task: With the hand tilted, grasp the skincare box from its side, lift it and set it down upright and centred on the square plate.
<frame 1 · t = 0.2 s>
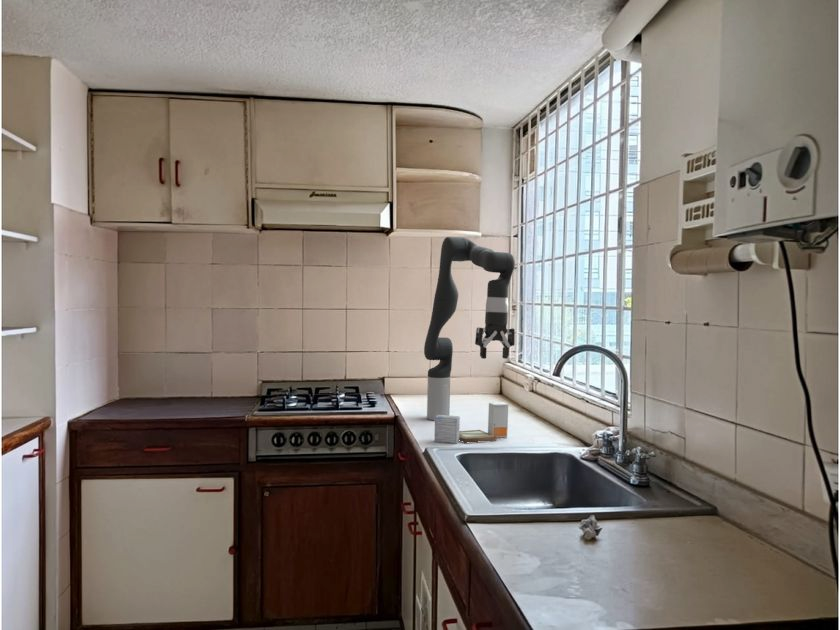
hand: (494, 358, 209), 29 cm above the table, tool pointing down, fingers open, 8 cm apart
medicine box: (446, 442, 210), on the table
skincare box: (497, 437, 219), on the table
plate: (472, 438, 215), on the table
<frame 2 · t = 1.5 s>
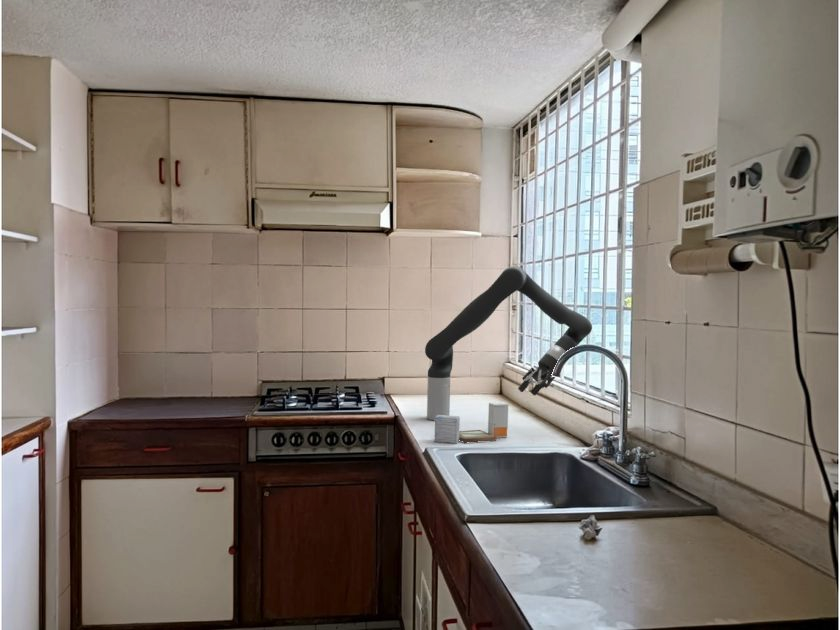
hand: (526, 392, 223), 16 cm above the table, tool tilted 45°, fingers open, 8 cm apart
nothing on the table moved.
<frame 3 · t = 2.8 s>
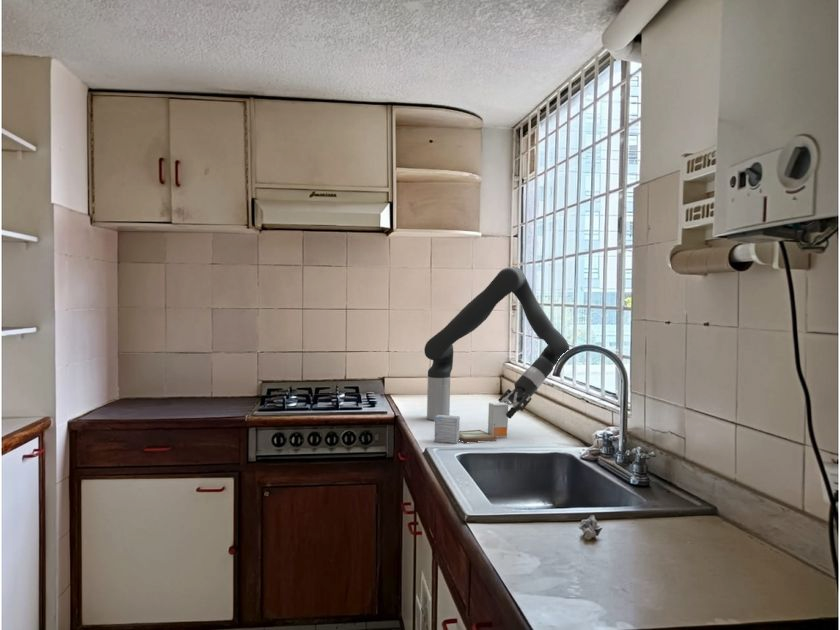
hand: (501, 414, 220), 8 cm above the table, tool tilted 45°, fingers open, 8 cm apart
nothing on the table moved.
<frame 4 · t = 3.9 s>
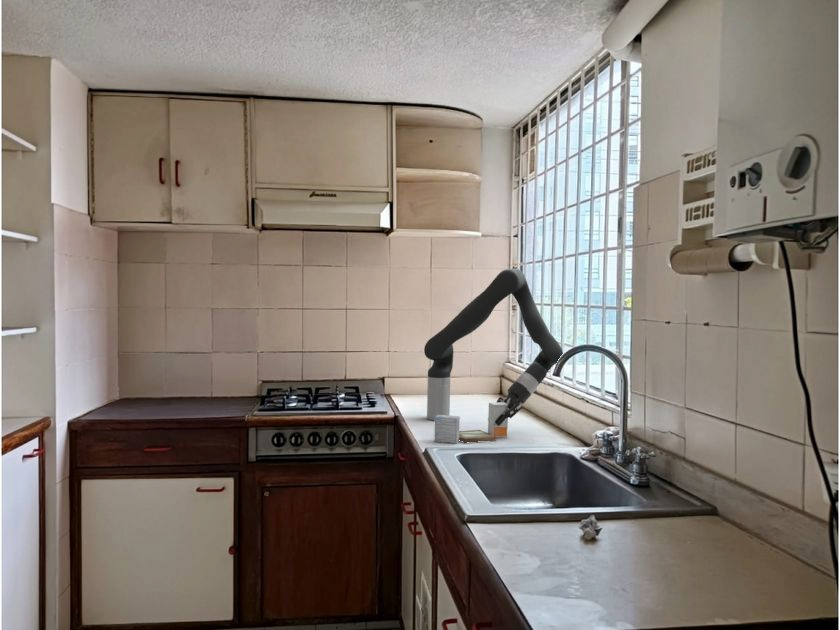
hand: (493, 422, 218), 5 cm above the table, tool tilted 45°, fingers closed on skincare box, 4 cm apart
skincare box: (497, 437, 219), on the table, touching gripper
everything else where it was.
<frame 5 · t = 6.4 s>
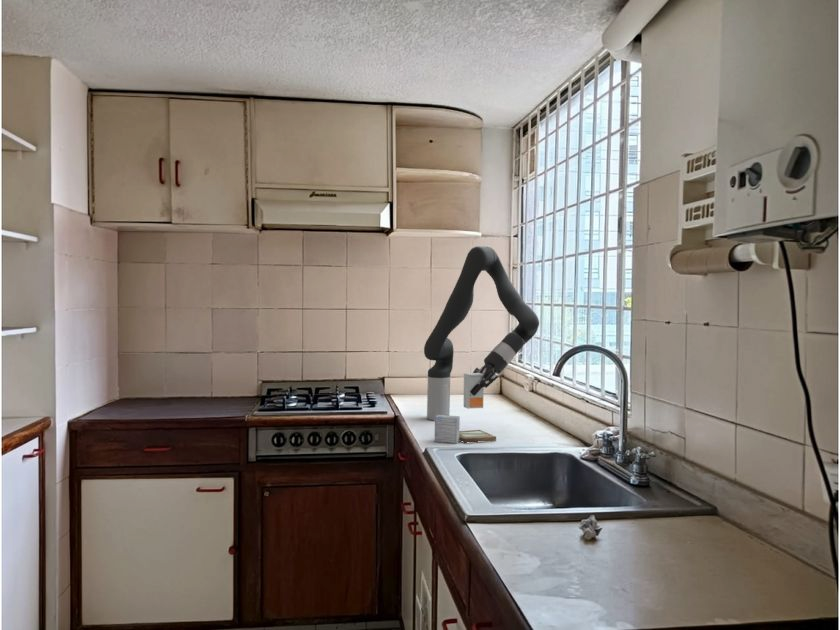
hand: (469, 392, 215), 16 cm above the table, tool tilted 45°, fingers closed on skincare box, 4 cm apart
skincare box: (473, 408, 215), point 11 cm above the table, touching gripper
everything else where it was.
when the fingers open (7 cm above the table, at t = 8.2 s): skincare box stays where it is, resting on plate.
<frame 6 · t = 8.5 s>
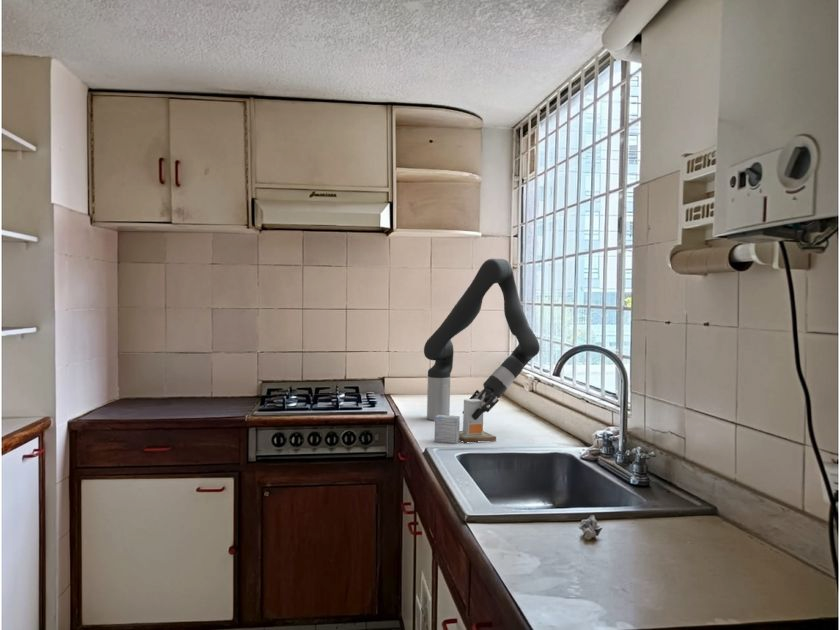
hand: (468, 416, 215), 8 cm above the table, tool tilted 45°, fingers open, 6 cm apart
skincare box: (472, 434, 215), point 1 cm above the table, touching plate
everything else where it was.
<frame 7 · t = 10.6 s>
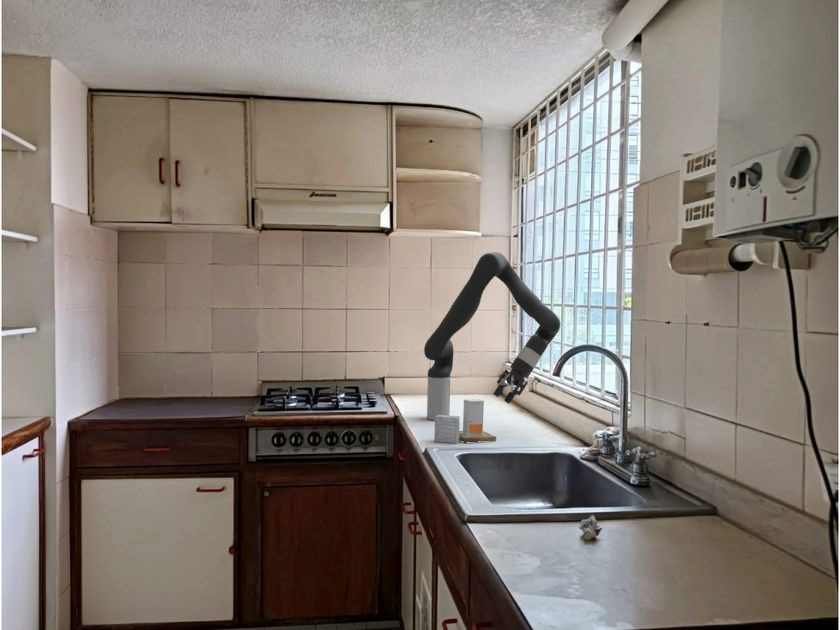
hand: (500, 399, 222), 13 cm above the table, tool tilted 35°, fingers open, 8 cm apart
nothing on the table moved.
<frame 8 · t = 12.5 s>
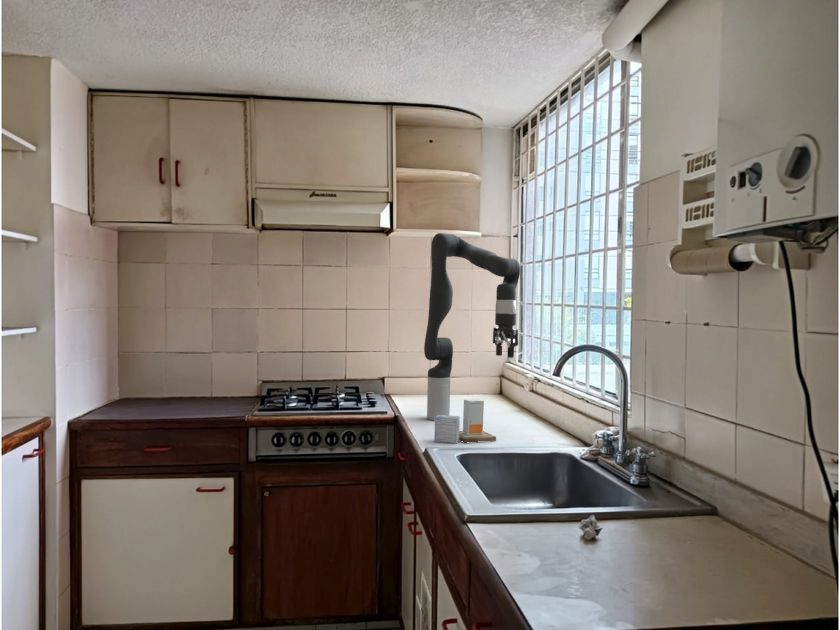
hand: (504, 356, 225), 28 cm above the table, tool pointing down, fingers open, 8 cm apart
nothing on the table moved.
at the end: skincare box inside the target area on the plate (0.1 cm from its centre), point 1.4 cm above the plate's base; skincare box tilted 0°; the gripper is holding nothing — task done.
